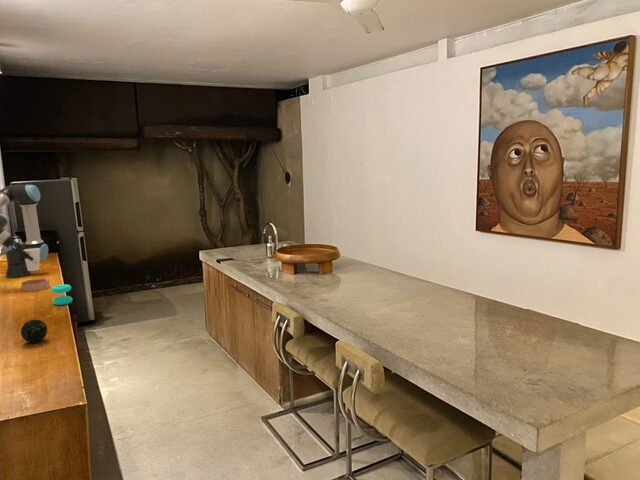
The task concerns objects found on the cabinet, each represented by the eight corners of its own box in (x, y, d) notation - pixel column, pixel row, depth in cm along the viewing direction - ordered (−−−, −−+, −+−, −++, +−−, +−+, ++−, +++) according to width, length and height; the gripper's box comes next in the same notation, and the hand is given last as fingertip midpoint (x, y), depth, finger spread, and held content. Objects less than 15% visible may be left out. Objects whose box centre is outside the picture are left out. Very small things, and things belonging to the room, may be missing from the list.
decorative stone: (53, 337, 222) (50, 316, 220) (41, 345, 212) (38, 323, 210) (30, 338, 221) (27, 316, 220) (17, 346, 211) (14, 324, 210)
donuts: (72, 283, 283) (68, 287, 273) (74, 300, 284) (70, 304, 275) (53, 284, 280) (48, 288, 270) (55, 301, 282) (50, 306, 272)
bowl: (24, 287, 318) (23, 280, 317) (50, 284, 324) (49, 277, 323) (20, 292, 304) (20, 285, 304) (48, 289, 310) (47, 282, 310)
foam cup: (45, 268, 316) (43, 248, 314) (35, 271, 307) (33, 250, 305) (31, 268, 317) (29, 248, 315) (21, 271, 308) (19, 250, 306)
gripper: (4, 241, 313) (36, 263, 322) (-2, 246, 293) (32, 269, 302) (13, 232, 314) (44, 254, 323) (7, 236, 295) (40, 260, 303)
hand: (38, 261), depth 313 cm, fingers closed on foam cup, 9 cm apart
